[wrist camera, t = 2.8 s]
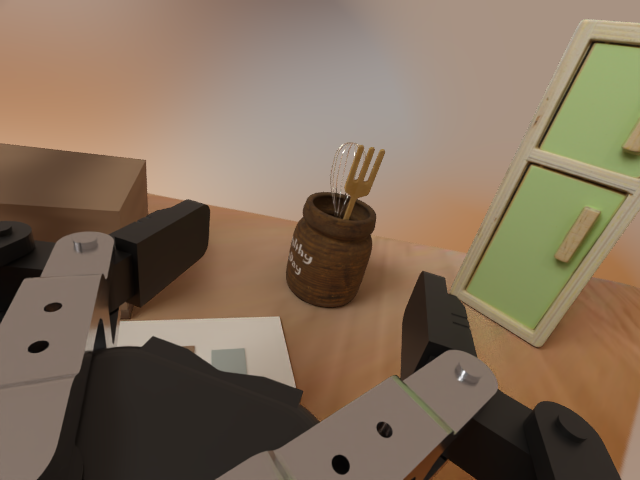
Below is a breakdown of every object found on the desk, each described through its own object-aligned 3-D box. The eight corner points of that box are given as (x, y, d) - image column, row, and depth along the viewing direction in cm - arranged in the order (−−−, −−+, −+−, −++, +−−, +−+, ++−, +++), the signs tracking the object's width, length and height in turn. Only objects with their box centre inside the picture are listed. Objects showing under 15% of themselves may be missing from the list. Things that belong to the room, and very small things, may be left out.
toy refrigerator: (441, 294, 29) (578, 12, 19) (474, 272, 34) (597, 39, 24) (535, 355, 25) (779, 27, 15) (557, 320, 30) (751, 57, 20)
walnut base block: (-54, 324, 17) (-110, 197, 13) (21, 240, 23) (-3, 142, 20) (129, 318, 20) (121, 212, 16) (150, 245, 26) (147, 159, 23)
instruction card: (59, 451, 13) (58, 447, 13) (106, 324, 19) (105, 320, 19) (301, 418, 16) (302, 414, 16) (278, 318, 22) (279, 315, 22)
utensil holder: (349, 268, 30) (392, 133, 24) (364, 317, 24) (422, 157, 19) (284, 259, 29) (312, 116, 23) (283, 309, 23) (320, 136, 17)
